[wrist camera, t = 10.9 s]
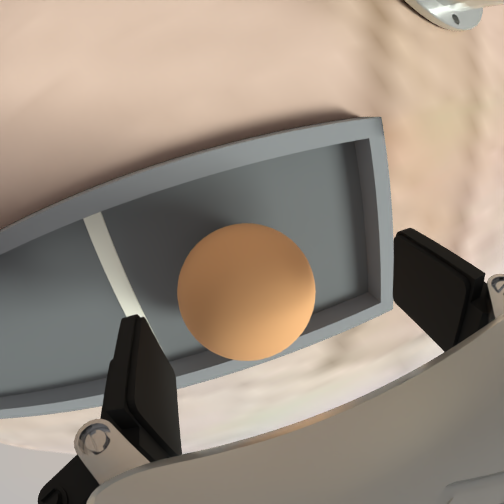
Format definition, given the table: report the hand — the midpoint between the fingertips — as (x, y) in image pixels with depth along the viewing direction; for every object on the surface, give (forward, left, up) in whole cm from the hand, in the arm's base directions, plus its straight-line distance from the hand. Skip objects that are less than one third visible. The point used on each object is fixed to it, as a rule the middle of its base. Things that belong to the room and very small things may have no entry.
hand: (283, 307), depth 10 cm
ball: (+1, -1, -3) cm, 3 cm away
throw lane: (+1, -9, -7) cm, 11 cm away
